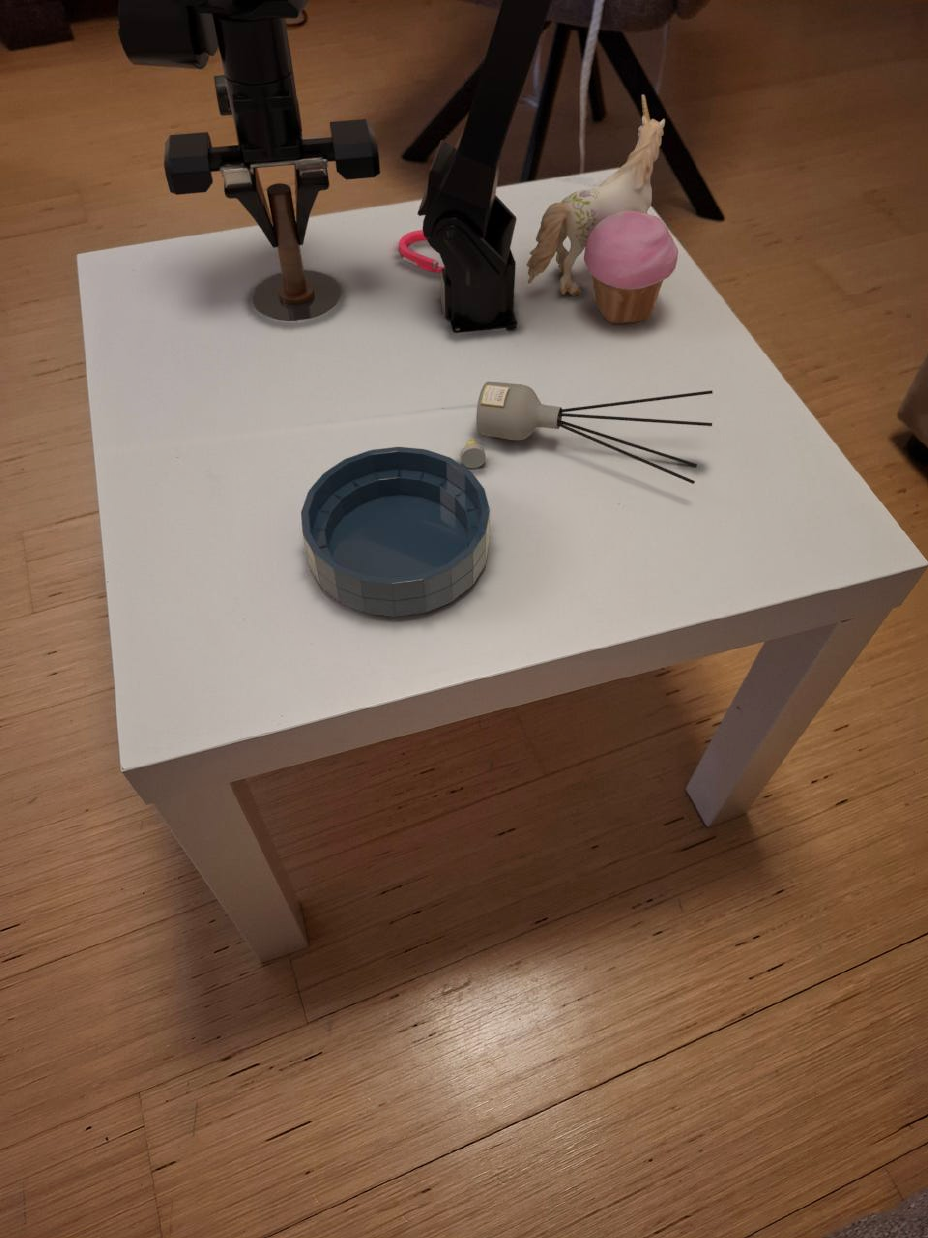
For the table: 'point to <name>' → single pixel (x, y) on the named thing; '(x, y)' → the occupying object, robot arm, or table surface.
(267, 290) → the coaster
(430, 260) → the fitness band
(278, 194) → the brown collared rod
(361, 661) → the table surface
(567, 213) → the unicorn figurine
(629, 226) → the cupcake
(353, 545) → the bowl
